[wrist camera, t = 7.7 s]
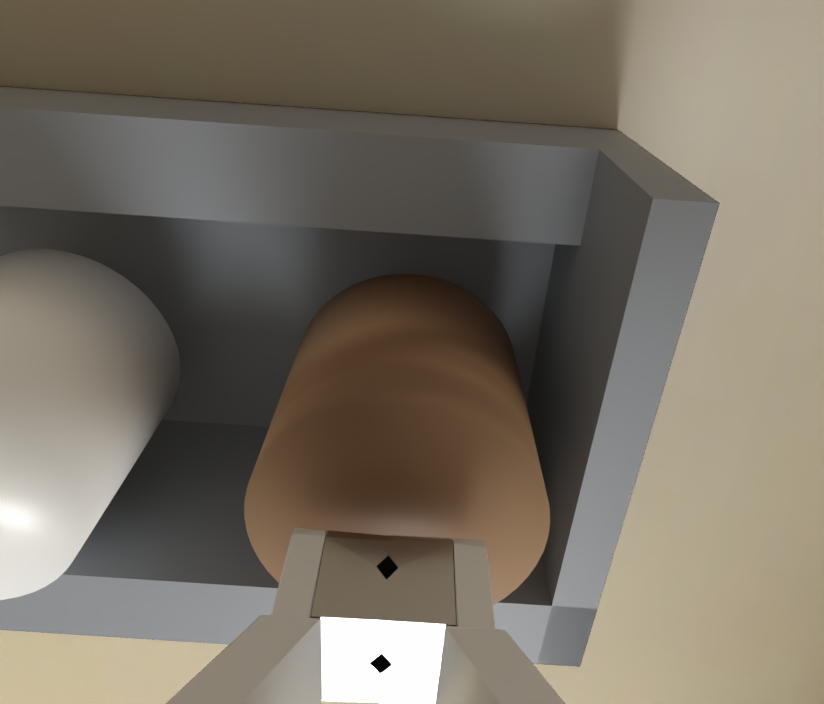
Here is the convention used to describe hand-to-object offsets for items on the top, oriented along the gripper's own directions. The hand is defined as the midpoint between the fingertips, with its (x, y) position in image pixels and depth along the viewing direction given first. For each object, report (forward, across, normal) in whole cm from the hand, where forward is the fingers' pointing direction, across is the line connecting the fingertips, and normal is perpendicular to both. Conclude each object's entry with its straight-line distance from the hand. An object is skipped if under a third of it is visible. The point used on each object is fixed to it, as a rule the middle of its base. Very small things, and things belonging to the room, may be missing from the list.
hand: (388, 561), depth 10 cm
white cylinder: (+6, -8, 0) cm, 10 cm away
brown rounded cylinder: (+6, 0, 0) cm, 6 cm away
